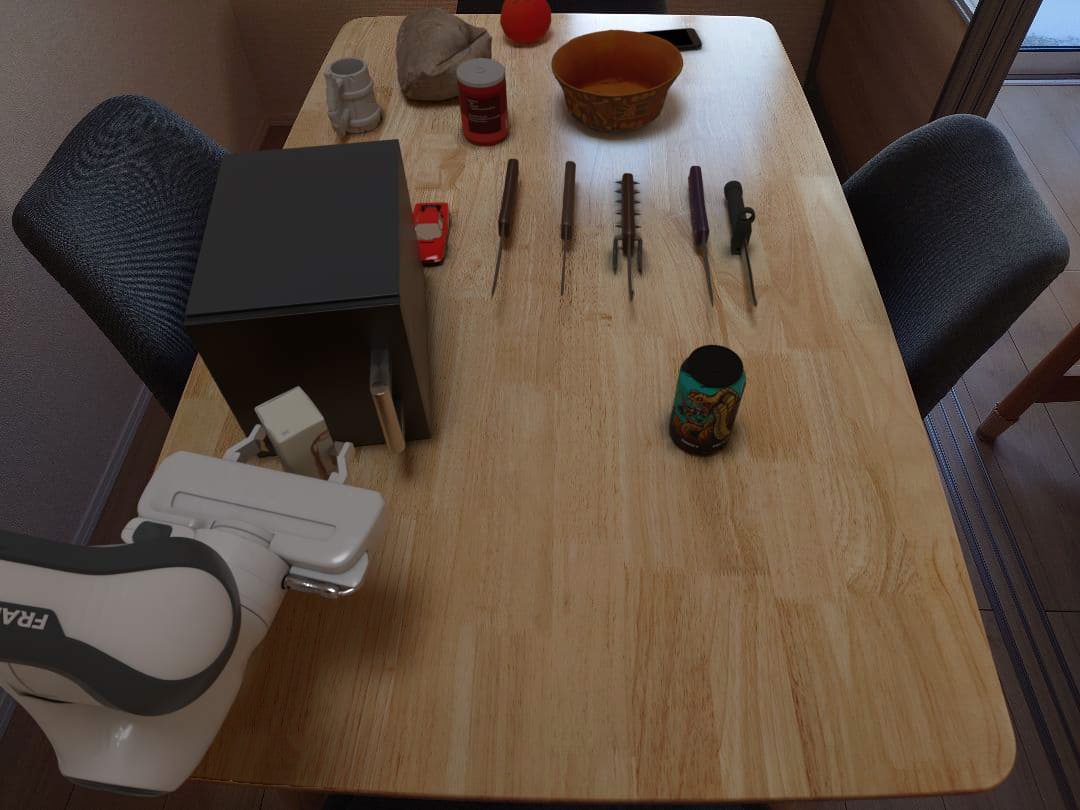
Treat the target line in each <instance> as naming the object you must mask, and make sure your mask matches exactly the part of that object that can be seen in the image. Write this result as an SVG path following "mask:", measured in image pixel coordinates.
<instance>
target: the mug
mask: <svg viewBox="0 0 1080 810" xmlns="http://www.w3.org/2000/svg"><path fill="white" fill-rule="evenodd" d="M323 76H324V78H325V79H324V80H325V84H326V87H325V93H326V103H327V117H328V119H329V120H330V124H331V125H330V126H331V127H332V129H333V131H334V132H336V133H337V135H338V137H339V138H344V137H345V136H346V132H347V133H351V134H360V133H365V132H370V131H372V130H374V129H375V128H377V127H378V125H379V124H380V122H381V113H382V109H381V106H380V105H379V103H378V102H377V98H376V95H375V91H374V86H375V83H374V80H373V78H372V76H371V75H370V70H369V68H368V64H367V61H366V60H364V59H363V58H360V57H355V56H343V57H339V58H337V59H334V60H333V61H331V63H329V64H328V66H327V71H323Z"/></svg>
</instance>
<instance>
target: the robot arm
mask: <svg viewBox="0 0 1080 810" xmlns="http://www.w3.org/2000/svg"><path fill="white" fill-rule="evenodd" d="M271 448H272V444H271V442H270V440H269V438H268V436H267V434H266V432H265V429H264V427H263V425H259V424H257V425H256V426H255V427H254V429H253V430H252V432H251V434H250V435H249V437H248V438H246V437H245V438H244V439H242V440H241V441H238V442H237V443H236V444H234V445H232V446H231V447H229V448H227V449H226V450H225V452H224V454H223V455H222V457H216V456H211V455H207V454H202V453H197V452H193V451H187V450H183V449H182V450H177V451H175V452H173V453H171V454H170V455H167V456H166V457H165V458H163V460H162V461H161V462H160V463H159V465H158V467H157V468H156V469H155V471H154V473H153V475H152V476H151V478H150V479H149V481H148V483H147V484H146V486H145V488H144V490H143V492H142V494H141V496H140V497H139V500H138V503H137V514H138V517H134V518H132V519H131V520H130V521H128V522H127V524H126V525H125V526H124V527H123V529H122V531H121V534H120V538H121V540H122V541H123V542H124V543H114V544H103V545H102V544H101V545H82V544H79V545H78V544H73V543H67V542H62V541H57V540H52V539H48V538H43V537H38V536H32V535H29V534H24V533H20V532H14V531H9V530H5V529H1V528H0V688H2V689H3V690H4V691H5V692H6V693H7V694H9V696H11V697H12V698H13V699H14V700H15V701H16V702H17V703H18V704H19V705H20V706H21V707H23V708H24V710H25V711H26V712H27V713H28V714H29V715H30V716H31V717H32V718H33V720H34V721H35V722H36V724H37V725H38V726H39V728H40V729H41V730H42V731H43V733H44V734H45V736H46V738H47V739H48V741H49V743H50V745H51V746H52V748H53V750H54V753H55V756H56V759H57V765H58V770H59V772H60V774H61V775H62V777H64V778H65V779H67V780H68V782H70V783H73V784H74V785H77V786H79V787H83V788H86V789H91V790H95V791H105V792H110V793H114V794H119V795H125V796H133V797H142V798H156V797H161V796H165V795H167V794H170V793H173V792H175V791H176V790H177V789H179V788H180V787H181V786H182V785H183V784H184V783H185V782H186V781H187V780H188V779H189V778H190V777H191V775H192V774H193V773H194V771H196V769H197V767H198V766H199V764H201V761H202V760H203V759H204V757H205V755H206V753H207V752H208V750H209V749H210V747H211V745H212V744H213V742H214V740H215V738H216V736H217V735H218V733H219V732H220V730H221V728H222V726H223V724H224V722H225V720H226V718H227V716H228V715H229V712H230V710H231V708H232V707H233V705H234V702H235V700H236V699H237V697H238V694H239V692H240V690H241V687H242V685H243V682H244V681H243V680H244V675H245V669H246V666H247V664H248V661H249V659H250V657H251V655H252V654H253V652H254V651H255V650H256V648H257V647H258V646H259V645H260V644H261V642H263V640H264V639H265V637H266V636H267V634H268V631H269V629H270V627H271V626H272V624H273V622H274V619H275V618H276V615H277V613H278V611H279V609H280V607H281V605H282V603H283V600H284V599H285V596H286V595H287V593H288V591H292V592H293V591H294V592H298V593H302V594H312V595H316V596H320V597H321V598H324V599H327V600H338V599H339V598H340V597H345V596H350V595H351V594H354V593H356V592H357V591H359V590H360V589H361V588H362V587H363V585H364V582H365V580H366V578H367V577H368V576H367V575H368V574H369V571H370V568H371V565H372V564H371V563H372V558H373V557H374V555H375V554H376V552H377V550H378V549H379V547H380V545H381V543H382V542H383V539H384V538H385V536H386V533H387V532H388V529H389V527H390V526H391V523H392V514H391V511H390V507H389V505H388V503H387V501H386V499H385V497H384V495H383V494H382V492H380V491H378V490H373V489H369V488H364V487H360V486H355V485H353V481H352V477H351V470H350V466H351V464H352V461H353V459H354V458H355V455H356V449H355V446H353V443H350V442H345V441H340V440H336V441H335V442H334V447H332V448H331V450H330V452H329V456H330V458H331V459H332V463H333V465H335V466H338V471H339V473H335V472H332V473H331V475H330V477H329V479H328V481H326V480H322V479H317V478H312V477H307V476H302V475H298V474H293V473H288V472H285V471H283V470H277V469H273V468H268V467H265V466H264V467H263V466H260V465H254V464H250V463H247V462H248V461H249V460H251V459H252V458H254V457H255V456H257V455H256V454H257V453H259V452H260V451H267V452H269V451H270V449H271ZM342 589H343V590H342Z"/></svg>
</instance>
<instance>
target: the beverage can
mask: <svg viewBox="0 0 1080 810" xmlns="http://www.w3.org/2000/svg"><path fill="white" fill-rule="evenodd" d="M746 386H747V374H746V371H745V369H744V362H743V361H742V359H741V357H740V356H739V355H738V354H737V353H736V352H735V351H734V350H732V349H731V348H728V347H726V346H724V345H720V344H719V345H718V344H705V345H701V346H699V347H697V348H695V349H693V350H692V351H691V353H690V354H689V355H688V357H686V358H685V359H684V361H683V362H682V364H681V365H680V367H679V371H678V376H677V380H676V386H675V392H674V397H673V402H672V407H671V413H670V416H669V417H670V418H669V423H668V427H669V433H670V435H671V437H672V439H673V440H674V442H676V444H677V445H678V446H680V448H682V449H684V450H686V451H688V452H691V453H694V454H703V455H704V454H711V453H715V452H718V451H719V450H721V449H723V448H724V447H725V446H726V445H727V444H728V442H729V440H730V437H731V435H732V431H733V429H734V425H735V422H736V418H737V415H738V412H739V408H740V406H741V402H742V399H743V395H744V392H745V389H746Z"/></svg>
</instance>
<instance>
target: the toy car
mask: <svg viewBox="0 0 1080 810" xmlns="http://www.w3.org/2000/svg"><path fill="white" fill-rule="evenodd" d="M412 212H413V217H414V223H415V228H416V233H417V238H418V244H419V249H420V254H421V260H422V265H423V266H432V265H433V266H434V265H439V264H442V263H443V262H444V259H445V255H447V241H448V237H449V236H448V235H449V229H450V223H451V216H450V208H449V203H448V202H442V201H440V202H439V201H438V202H417V203H414V207H413V210H412Z"/></svg>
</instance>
